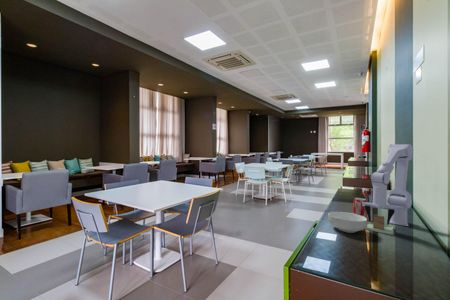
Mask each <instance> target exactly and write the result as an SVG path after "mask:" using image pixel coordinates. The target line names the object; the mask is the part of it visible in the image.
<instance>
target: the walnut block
mask: <svg viewBox="0 0 450 300" xmlns="http://www.w3.org/2000/svg"><path fill="white" fill-rule="evenodd" d="M372 219H373V220H372V222H373V228H374V229H380V230H384V224H385V215H380V214H373V217H372Z"/></svg>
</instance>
